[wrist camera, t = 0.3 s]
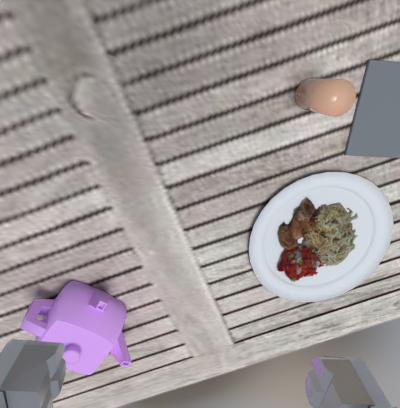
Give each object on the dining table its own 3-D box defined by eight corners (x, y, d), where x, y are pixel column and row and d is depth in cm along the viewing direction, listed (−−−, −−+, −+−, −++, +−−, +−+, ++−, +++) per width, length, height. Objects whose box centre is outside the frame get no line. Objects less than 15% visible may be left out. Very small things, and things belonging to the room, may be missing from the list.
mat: (368, 59, 51) (370, 59, 51) (454, 67, 53) (457, 67, 52) (344, 154, 57) (345, 155, 57) (422, 158, 59) (425, 159, 59)
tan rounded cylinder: (297, 77, 51) (325, 77, 42) (326, 79, 52) (359, 80, 43) (292, 108, 53) (317, 115, 44) (319, 110, 54) (350, 117, 45)
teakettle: (33, 285, 62) (3, 332, 51) (116, 269, 63) (104, 312, 51) (62, 346, 69) (41, 399, 58) (137, 331, 69) (130, 381, 58)
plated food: (409, 177, 61) (422, 183, 58) (359, 299, 72) (368, 309, 69) (264, 160, 57) (269, 165, 54) (235, 292, 68) (238, 303, 65)
